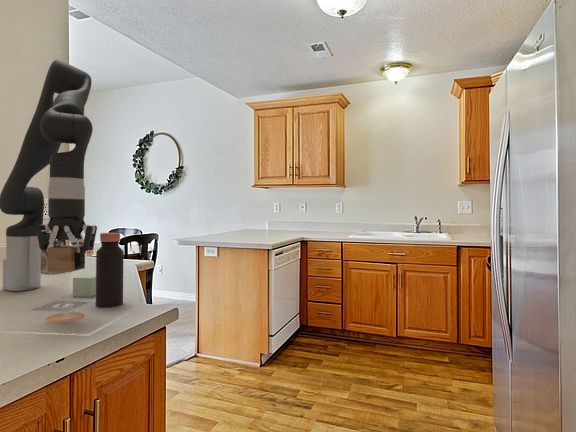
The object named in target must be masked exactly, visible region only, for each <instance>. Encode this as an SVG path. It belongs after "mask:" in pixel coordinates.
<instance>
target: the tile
mask: <svg viewBox="0 0 576 432" xmlns="http://www.w3.org/2000/svg"><path fill="white" fill-rule="evenodd" d="M89 303H90V301H73V300H70V301H69V300H55V301H52V302H49V303H46V304H44V305H41V306H37V307H35V308H33V309H31V311H38V312H39V311H41V312H62V313H69V312H70V311H72V310H75V309H77V308H79V307H82V306H84V305H85V306H86V305H87V304H89Z"/></svg>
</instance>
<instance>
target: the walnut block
mask: <svg viewBox="0 0 576 432" xmlns="http://www.w3.org/2000/svg"><path fill="white" fill-rule="evenodd" d="M75 253H76V252H75V248H74V247H73V245H66V246H57V247H50V248H48V271H49V272H62V273H71V272H76V271H79V270H83V269H86V264H85V265H84V266H83V268H80V269H75Z"/></svg>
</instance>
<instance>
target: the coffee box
mask: <svg viewBox="0 0 576 432" xmlns="http://www.w3.org/2000/svg"><path fill="white" fill-rule="evenodd" d="M49 235H50V237H51V235H52V232H51V231H50V232H49ZM66 242H67V240H64V241H63V242H62V243H61V245H60V246H67V243H66ZM42 272H43V274H49V275H53V274H60V273H61V272H49V271H48V252H47V251H46V250H41V273H42Z"/></svg>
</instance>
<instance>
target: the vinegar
mask: <svg viewBox="0 0 576 432" xmlns="http://www.w3.org/2000/svg"><path fill="white" fill-rule="evenodd" d="M99 240H100V244H101V245H100V246H101V247H99V248H98V250H96V252H95V275H96V298H95V307H97V308H102V309H103V308H104V309H105V308H107V309H109V308H115V307H116V308H117V307H120V306H122V305H123V303H124V252H125V251H124V250H123V249H122V248H121V247H120V246H119V245H120V243H121V242H120V241H121V233H120V232H100V233H99Z"/></svg>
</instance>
